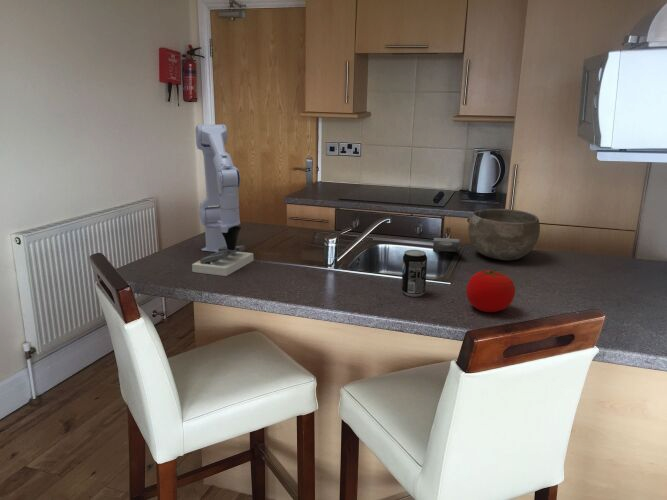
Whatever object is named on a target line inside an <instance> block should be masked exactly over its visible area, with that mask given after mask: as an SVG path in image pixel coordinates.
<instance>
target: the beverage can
mask: <svg viewBox="0 0 667 500" xmlns="http://www.w3.org/2000/svg"><path fill="white" fill-rule="evenodd" d="M427 267H428V256H427V253H426V251H424V250H420V249H407V250H405V251H404V253H403V255H402V270H401V271H402V272H401V273H402V274H401V292H402V293H403V294H404V295H405V296H406V297H417V298H418V297H421V296H423V295H424V294H425V293H426V287H427V286H426V285H427V269H428V268H427Z"/></svg>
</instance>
